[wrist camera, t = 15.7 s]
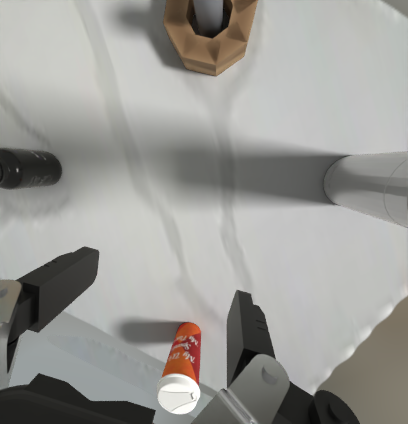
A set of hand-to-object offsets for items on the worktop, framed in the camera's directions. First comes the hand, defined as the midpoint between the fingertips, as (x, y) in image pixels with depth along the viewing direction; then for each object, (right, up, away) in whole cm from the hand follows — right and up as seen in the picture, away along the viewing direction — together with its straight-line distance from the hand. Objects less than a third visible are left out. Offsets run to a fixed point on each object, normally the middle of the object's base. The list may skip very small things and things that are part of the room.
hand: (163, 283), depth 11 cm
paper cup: (-1, -25, +36) cm, 44 cm away
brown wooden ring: (+3, +34, +22) cm, 41 cm away
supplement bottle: (-30, +13, +30) cm, 44 cm away
